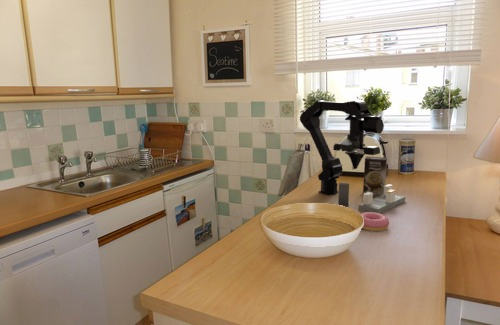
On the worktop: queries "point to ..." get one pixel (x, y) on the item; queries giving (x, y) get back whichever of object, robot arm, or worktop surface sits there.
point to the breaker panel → (381, 204)
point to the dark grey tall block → (343, 194)
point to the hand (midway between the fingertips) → (355, 168)
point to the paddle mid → (390, 196)
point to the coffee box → (374, 175)
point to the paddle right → (387, 188)
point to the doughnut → (375, 221)
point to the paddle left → (367, 198)
